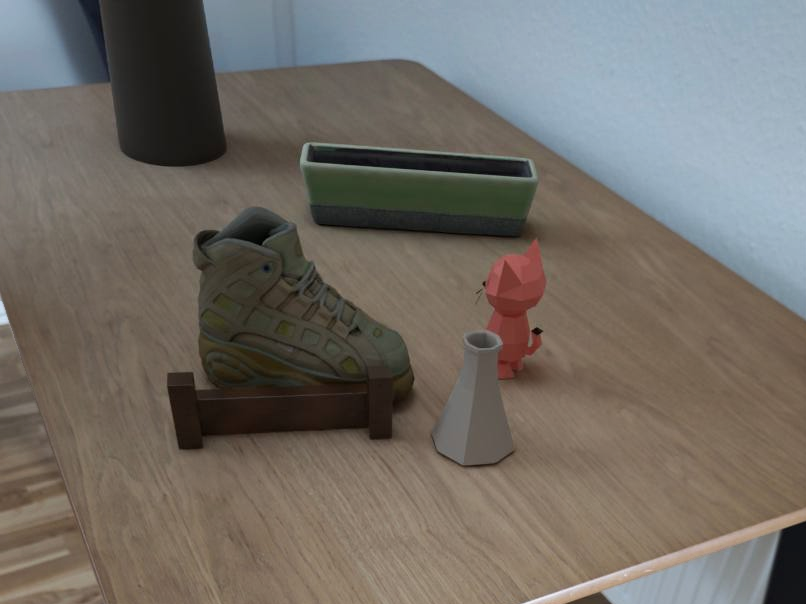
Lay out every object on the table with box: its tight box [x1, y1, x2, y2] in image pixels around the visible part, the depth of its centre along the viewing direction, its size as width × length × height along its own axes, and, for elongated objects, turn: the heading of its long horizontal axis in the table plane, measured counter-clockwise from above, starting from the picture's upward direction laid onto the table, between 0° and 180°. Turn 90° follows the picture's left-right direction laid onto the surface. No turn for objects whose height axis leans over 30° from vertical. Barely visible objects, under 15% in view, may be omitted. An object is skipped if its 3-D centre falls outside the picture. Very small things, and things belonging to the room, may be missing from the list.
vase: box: [98, 0, 227, 167], centre depth 108 cm, size 14×14×29 cm
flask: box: [430, 329, 516, 466], centre depth 75 cm, size 7×7×10 cm
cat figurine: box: [474, 237, 547, 380], centre depth 83 cm, size 7×7×12 cm
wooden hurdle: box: [166, 365, 394, 450], centre depth 75 cm, size 18×3×6 cm, turn 102°
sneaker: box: [191, 205, 416, 403], centre depth 78 cm, size 11×19×15 cm, turn 69°
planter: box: [299, 141, 539, 237], centre depth 107 cm, size 28×7×7 cm, turn 93°
